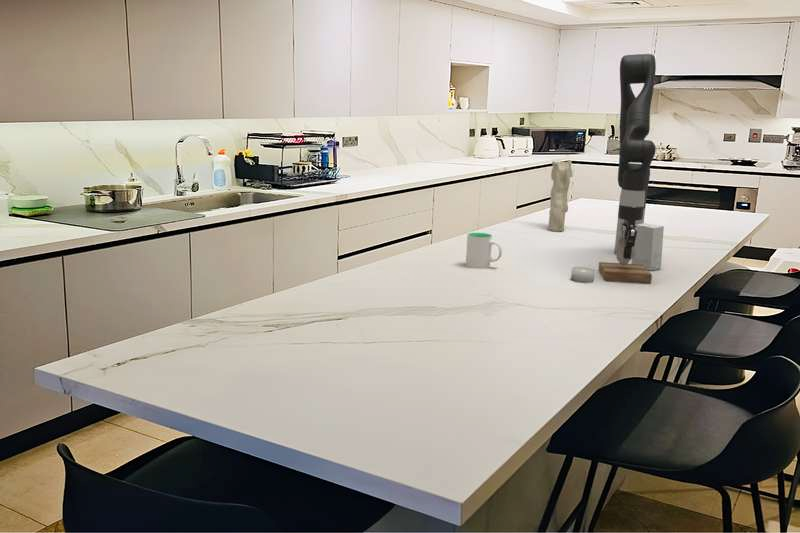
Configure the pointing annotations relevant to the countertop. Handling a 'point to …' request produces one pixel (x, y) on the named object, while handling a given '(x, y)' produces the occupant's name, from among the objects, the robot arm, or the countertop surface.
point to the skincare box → (648, 246)
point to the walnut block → (624, 273)
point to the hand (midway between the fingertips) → (625, 257)
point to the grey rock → (621, 251)
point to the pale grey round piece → (582, 274)
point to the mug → (480, 250)
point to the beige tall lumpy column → (559, 194)
